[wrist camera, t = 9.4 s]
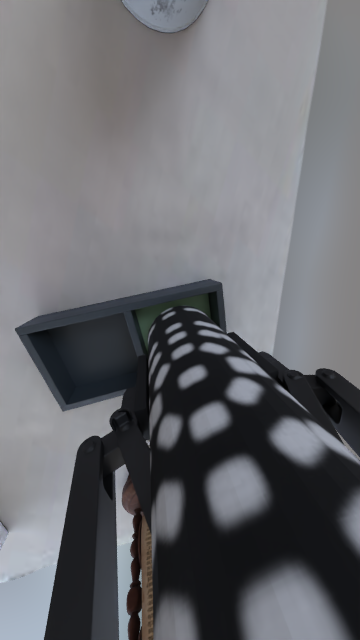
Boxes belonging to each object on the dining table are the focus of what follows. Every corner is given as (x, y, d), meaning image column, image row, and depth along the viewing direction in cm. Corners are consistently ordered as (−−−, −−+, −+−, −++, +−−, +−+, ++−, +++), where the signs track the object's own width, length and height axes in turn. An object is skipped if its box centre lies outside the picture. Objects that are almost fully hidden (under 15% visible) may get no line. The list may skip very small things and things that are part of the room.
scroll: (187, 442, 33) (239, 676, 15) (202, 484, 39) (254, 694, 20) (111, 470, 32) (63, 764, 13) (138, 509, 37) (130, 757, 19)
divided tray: (37, 316, 21) (14, 328, 17) (210, 278, 23) (222, 282, 20) (74, 389, 25) (62, 411, 21) (218, 351, 27) (229, 365, 24)
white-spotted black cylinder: (198, 292, 20) (817, 711, 2) (222, 347, 23) (524, 701, 5) (134, 326, 20) (-12, 1161, 2) (167, 376, 23) (251, 848, 5)
